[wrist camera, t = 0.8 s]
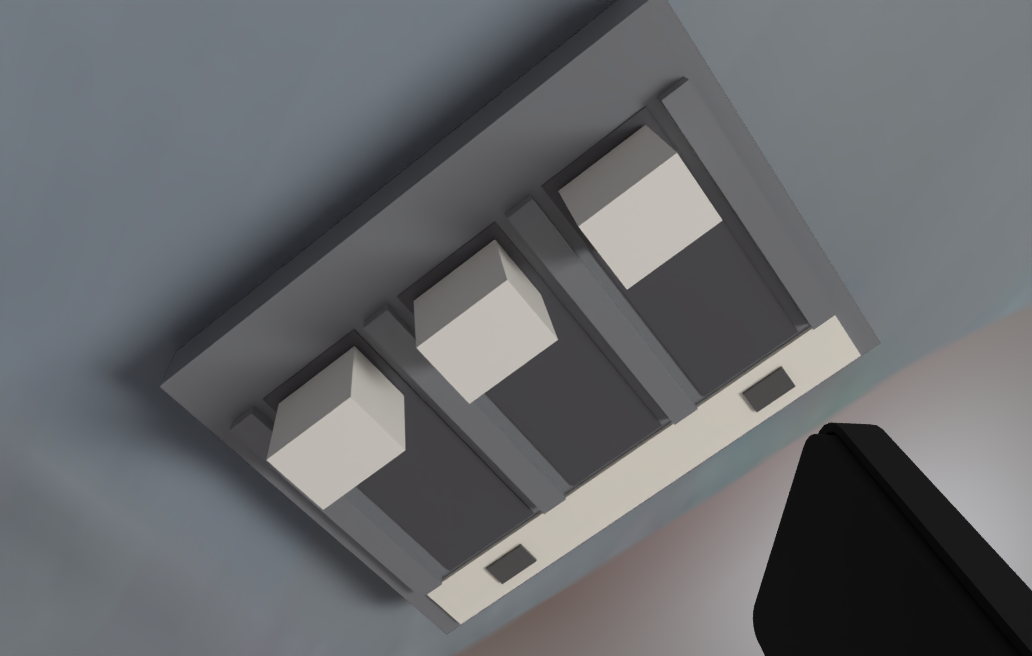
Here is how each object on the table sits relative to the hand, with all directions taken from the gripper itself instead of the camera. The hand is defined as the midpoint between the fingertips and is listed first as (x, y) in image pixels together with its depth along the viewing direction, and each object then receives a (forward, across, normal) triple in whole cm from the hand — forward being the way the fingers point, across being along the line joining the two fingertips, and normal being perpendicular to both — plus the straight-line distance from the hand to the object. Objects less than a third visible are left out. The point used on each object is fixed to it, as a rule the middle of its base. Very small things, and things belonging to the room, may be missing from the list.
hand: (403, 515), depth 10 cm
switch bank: (+27, -7, +10) cm, 29 cm away
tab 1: (+24, +1, +12) cm, 27 cm away
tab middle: (+24, -4, +7) cm, 25 cm away
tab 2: (+24, -9, +3) cm, 25 cm away
